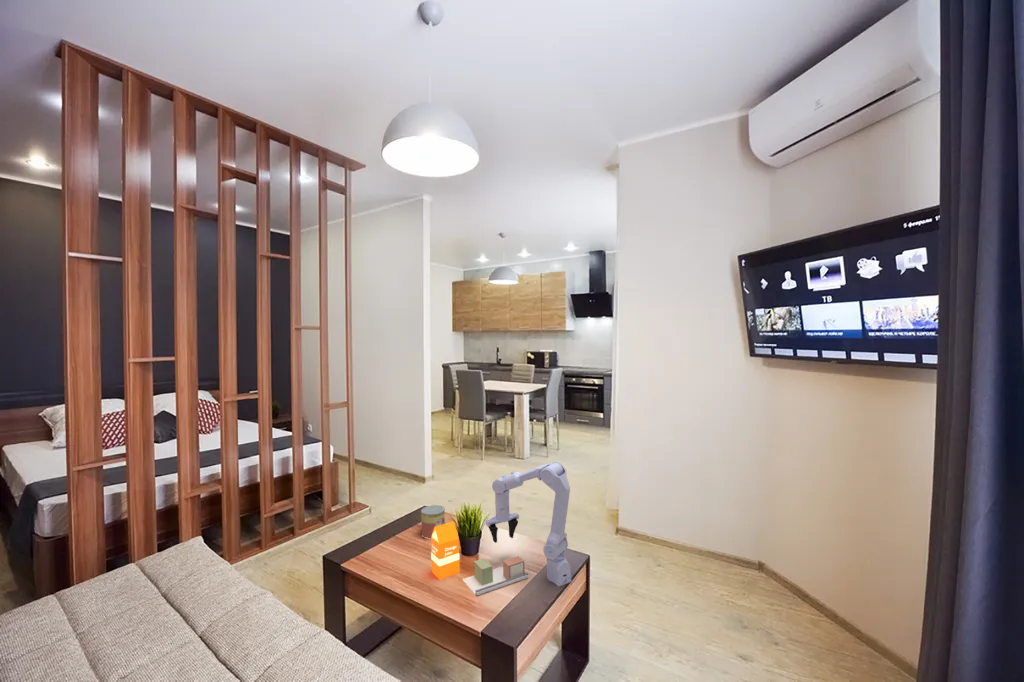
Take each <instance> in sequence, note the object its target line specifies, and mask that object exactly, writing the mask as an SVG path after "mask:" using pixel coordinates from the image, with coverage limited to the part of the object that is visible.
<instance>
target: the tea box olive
mask: <svg viewBox="0 0 1024 682" xmlns="http://www.w3.org/2000/svg"><path fill="white" fill-rule="evenodd" d="M493 569H494V568H493V565H492V564H491V563H490V562H489V561H488V560H487V559H486V558H484V557H483V558H481V559H478V560H474V561H473V571H474V575H473V576H474V577H475V578H476V579H477V580H478V581H479V582H480V583H481V585H485V584H488V583H491V582H493Z"/></svg>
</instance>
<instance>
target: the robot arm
mask: <svg viewBox="0 0 1024 682" xmlns="http://www.w3.org/2000/svg"><path fill="white" fill-rule="evenodd" d="M536 478H537V480H538V481H542V483H544V484H545V485H546V486H547V487H548V488H550V489H551V490H552V491H554V492H555V493H554V501H553V502H554V503H553V510H552V517H551V525H550V532H549V534H548V536H547V538H546V542H545V544H544V545H543V554H544V556H545V557H546V575H547V576H546V577H547V580H548V581H549V582H551V583H554V584H555V585H556V586H557V587H561V586H564V585H566V584H569V583H571V582H572V566H571V564H570V563H569V562H568V560H567V558H566V550H567V548H568V546H569V543H568V539H567V537H568V535H567V533H566V531H565V530H566V524H567V523H566V522H567V515H568V508H569V499H570V493H571V487H570V483H569V479H568V476H567V469H566V468H565V467H564V465H563V464H562V463H560V462H558V461H554V462H552V463H546V464H542V465H540V466H537V467H534V468H531V469H529V470H527V471H524V472H522V473H521V472H519V471H516V470H514V471H511V472H510V474H507V475H506V474H504V475H502V476H501V477H499V478H497V479H495V480H494V481H493V482H492V487H491V488H492V490H493V492H494V493H495V494H494V497H495V498H494V500H495V502H494V503H495V516H494V517H492V518H491V517H490V519H486V520H485V525H486V527H488V530H489V532H490V534H491V537H492V541H493V542H494V543H495V544H496V543H497V542H498V529H499V528H498V527H497V525H498V524H501V523H507V524H508V536H509V538H511V539H513V538H514V537H515V536H514V535H515V531H516V528H517V526H518V524H519V519H520V514H519V513H517V512H514V513H510V490H513V489H515V488H519V487H522V486H523V485H524V482H527V481H529V480H533V479H536Z"/></svg>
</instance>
